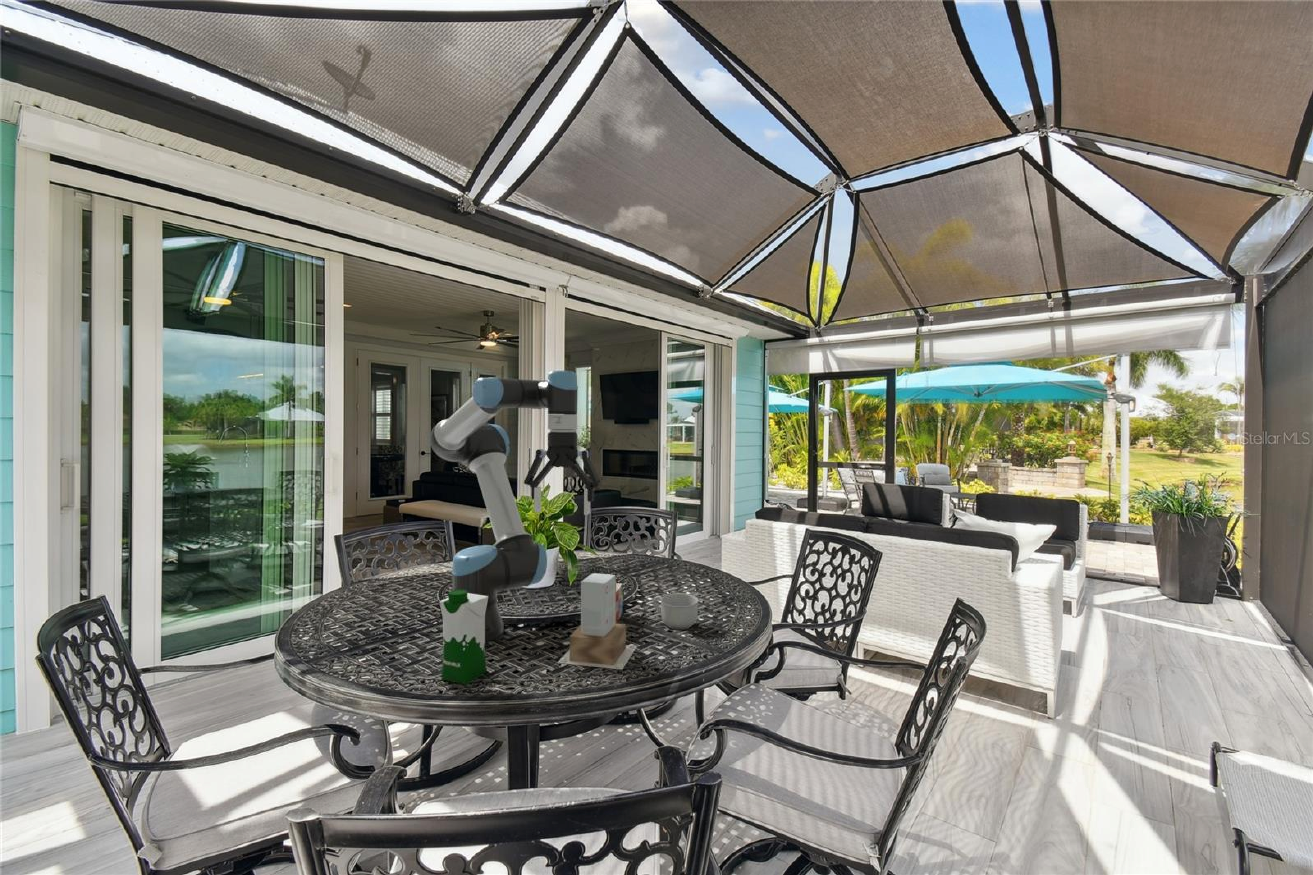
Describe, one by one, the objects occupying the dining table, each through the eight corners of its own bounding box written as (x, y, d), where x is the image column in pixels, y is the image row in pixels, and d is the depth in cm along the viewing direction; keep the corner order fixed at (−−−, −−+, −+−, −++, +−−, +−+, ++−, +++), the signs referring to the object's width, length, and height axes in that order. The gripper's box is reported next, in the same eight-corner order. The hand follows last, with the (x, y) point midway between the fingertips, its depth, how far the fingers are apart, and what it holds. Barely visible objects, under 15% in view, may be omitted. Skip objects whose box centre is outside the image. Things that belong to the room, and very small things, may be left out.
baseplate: (557, 667, 139) (557, 660, 139) (577, 645, 153) (577, 638, 153) (622, 674, 136) (622, 666, 136) (636, 651, 149) (636, 644, 149)
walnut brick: (569, 661, 140) (569, 636, 140) (584, 643, 151) (584, 620, 150) (613, 665, 138) (613, 640, 137) (625, 647, 148) (626, 624, 148)
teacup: (705, 626, 168) (705, 598, 168) (681, 636, 160) (681, 607, 160) (668, 614, 177) (669, 588, 177) (644, 624, 169) (644, 596, 169)
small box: (592, 623, 149) (592, 572, 148) (616, 625, 147) (616, 574, 147) (579, 634, 141) (580, 581, 140) (604, 637, 139) (605, 583, 139)
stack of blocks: (603, 612, 179) (603, 572, 179) (623, 613, 178) (623, 573, 178) (584, 638, 158) (584, 593, 158) (606, 639, 157) (607, 594, 157)
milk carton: (435, 680, 132) (435, 592, 131) (463, 664, 140) (463, 582, 139) (466, 687, 128) (465, 597, 128) (493, 671, 137) (493, 586, 136)
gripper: (511, 430, 150) (511, 513, 150) (604, 432, 144) (603, 517, 145) (523, 430, 157) (523, 508, 158) (613, 431, 152) (612, 512, 152)
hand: (562, 513), depth 151 cm, fingers open, 13 cm apart
